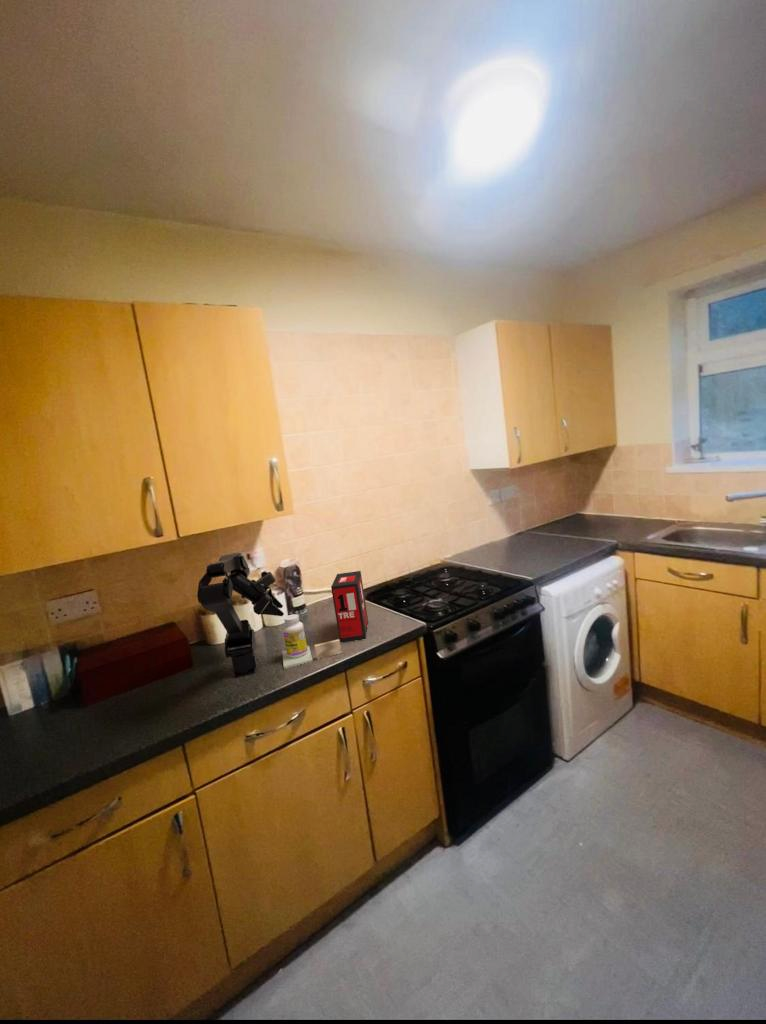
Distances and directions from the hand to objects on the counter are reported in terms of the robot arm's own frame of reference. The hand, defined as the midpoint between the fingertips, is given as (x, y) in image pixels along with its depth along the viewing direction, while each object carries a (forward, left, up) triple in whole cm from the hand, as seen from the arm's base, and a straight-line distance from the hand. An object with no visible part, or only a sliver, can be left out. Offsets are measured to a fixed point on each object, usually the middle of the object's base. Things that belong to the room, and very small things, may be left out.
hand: (282, 610), depth 151 cm
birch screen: (+12, -14, -14) cm, 23 cm away
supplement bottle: (+2, -9, -13) cm, 16 cm away
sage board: (+2, -9, -14) cm, 17 cm away
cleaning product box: (+24, +1, -14) cm, 27 cm away
